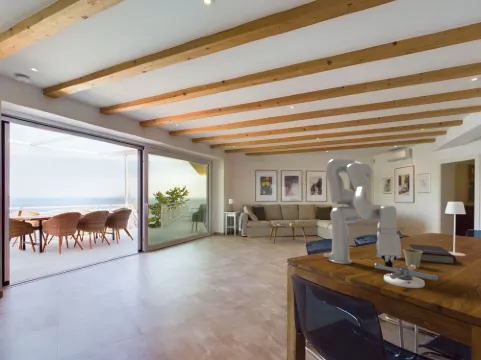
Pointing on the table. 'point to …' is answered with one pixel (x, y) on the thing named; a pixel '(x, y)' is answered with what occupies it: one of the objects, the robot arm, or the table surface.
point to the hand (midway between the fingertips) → (388, 269)
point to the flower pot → (412, 257)
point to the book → (434, 254)
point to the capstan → (405, 272)
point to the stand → (405, 282)
